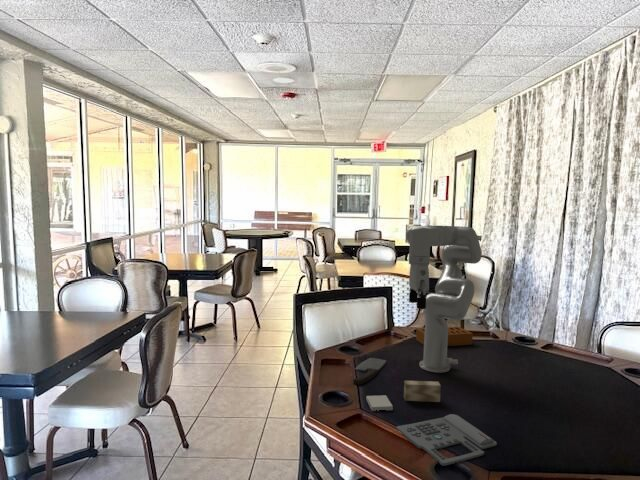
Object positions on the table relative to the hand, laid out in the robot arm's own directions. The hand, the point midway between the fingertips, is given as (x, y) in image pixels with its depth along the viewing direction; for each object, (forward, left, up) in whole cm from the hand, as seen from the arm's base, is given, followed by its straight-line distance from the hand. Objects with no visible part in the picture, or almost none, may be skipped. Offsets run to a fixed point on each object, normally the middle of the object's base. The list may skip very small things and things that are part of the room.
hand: (417, 305), depth 157 cm
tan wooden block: (+1, +13, -31) cm, 33 cm away
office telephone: (+1, +38, -31) cm, 49 cm away
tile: (+14, +17, -30) cm, 37 cm away
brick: (-31, -50, -31) cm, 66 cm away
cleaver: (+16, -13, -31) cm, 37 cm away
